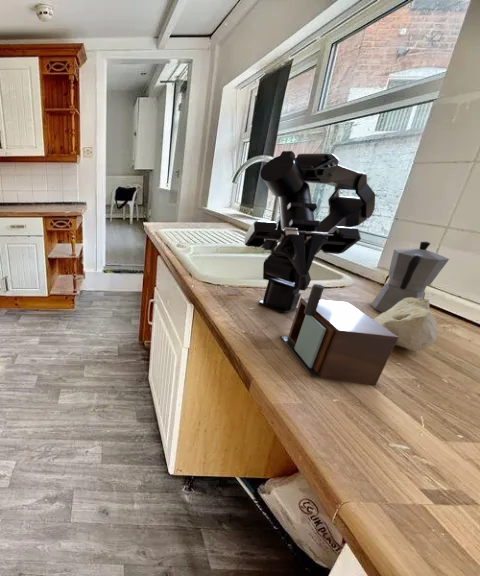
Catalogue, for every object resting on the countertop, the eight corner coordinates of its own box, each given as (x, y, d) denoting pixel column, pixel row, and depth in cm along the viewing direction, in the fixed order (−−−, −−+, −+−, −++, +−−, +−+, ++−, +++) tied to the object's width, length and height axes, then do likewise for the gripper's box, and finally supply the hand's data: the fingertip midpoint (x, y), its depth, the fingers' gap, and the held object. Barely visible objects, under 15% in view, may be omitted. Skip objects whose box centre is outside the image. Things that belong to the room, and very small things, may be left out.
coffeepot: (376, 299, 85) (403, 234, 78) (423, 311, 78) (457, 242, 71) (362, 313, 76) (392, 241, 69) (414, 328, 69) (453, 251, 62)
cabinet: (280, 336, 63) (293, 296, 59) (331, 342, 61) (347, 302, 58) (311, 376, 51) (329, 329, 47) (375, 385, 49) (399, 337, 46)
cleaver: (290, 347, 58) (311, 283, 53) (299, 348, 58) (321, 284, 53) (305, 367, 52) (330, 297, 47) (315, 368, 52) (342, 298, 47)
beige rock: (397, 373, 56) (494, 334, 52) (372, 338, 57) (465, 297, 53) (356, 353, 71) (429, 321, 66) (337, 326, 72) (407, 292, 67)
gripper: (320, 233, 69) (331, 297, 63) (234, 227, 72) (236, 287, 66) (355, 201, 59) (371, 273, 53) (253, 194, 61) (257, 263, 55)
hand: (303, 275), depth 57 cm, fingers closed
